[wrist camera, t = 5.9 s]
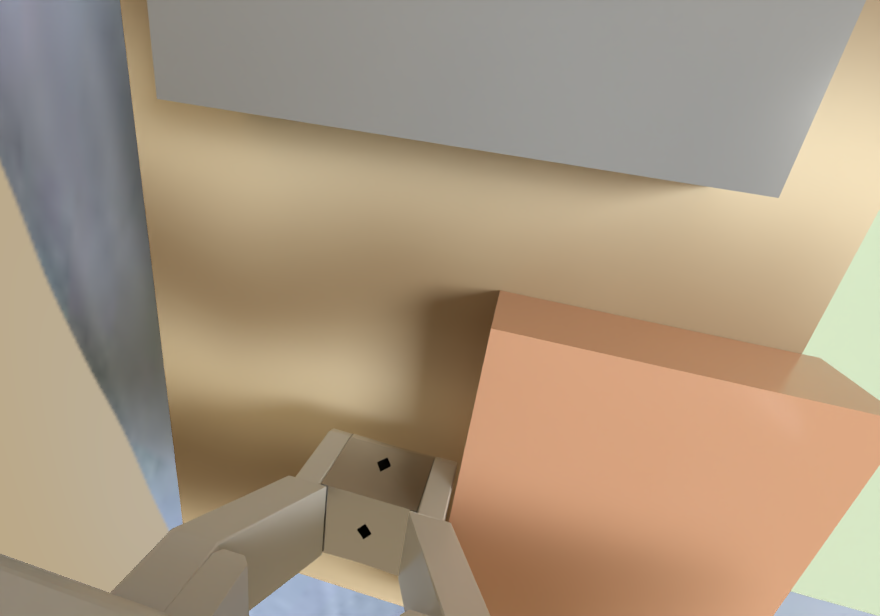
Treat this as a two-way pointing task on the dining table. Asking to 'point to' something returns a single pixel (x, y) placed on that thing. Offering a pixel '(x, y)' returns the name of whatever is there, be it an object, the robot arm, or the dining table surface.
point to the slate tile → (526, 75)
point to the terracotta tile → (651, 466)
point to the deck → (444, 269)
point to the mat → (876, 507)
